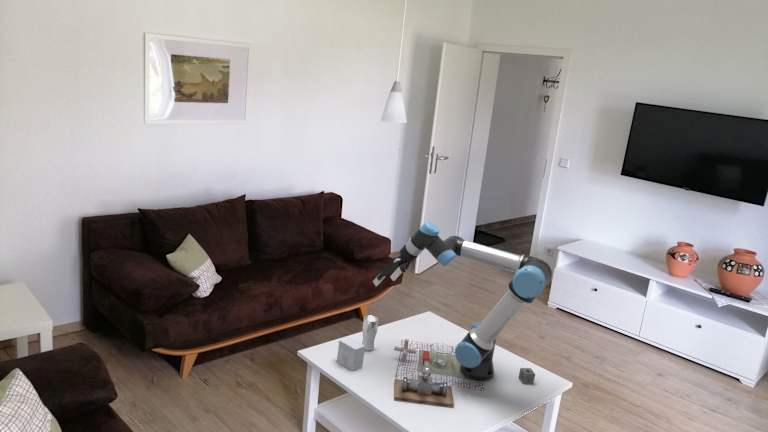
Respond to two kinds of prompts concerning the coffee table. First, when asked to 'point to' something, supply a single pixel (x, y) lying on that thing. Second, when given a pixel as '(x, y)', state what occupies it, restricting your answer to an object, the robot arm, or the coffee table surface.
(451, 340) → the coffee table surface
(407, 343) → the pipe connector
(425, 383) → the valve body
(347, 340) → the skincare box
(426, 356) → the valve handle
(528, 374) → the dice cube
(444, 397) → the walnut board
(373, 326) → the beer glass
